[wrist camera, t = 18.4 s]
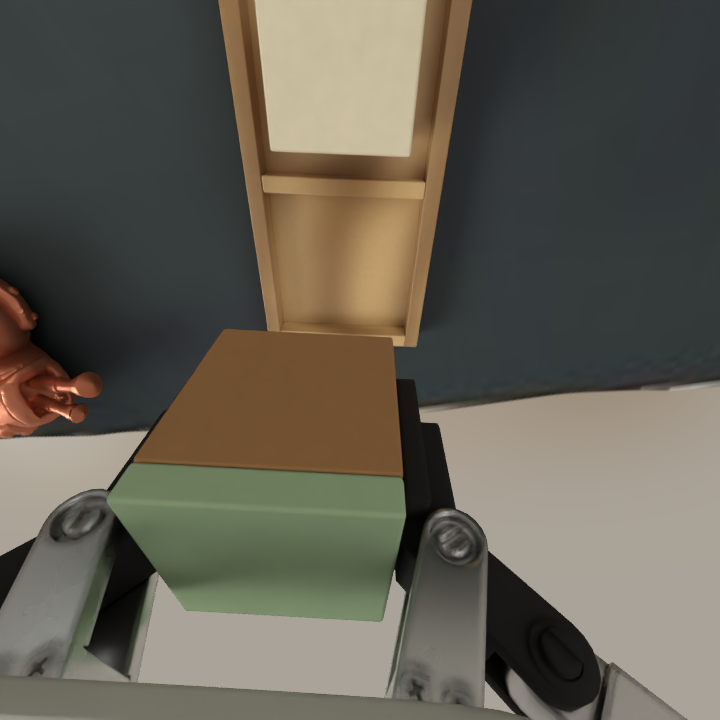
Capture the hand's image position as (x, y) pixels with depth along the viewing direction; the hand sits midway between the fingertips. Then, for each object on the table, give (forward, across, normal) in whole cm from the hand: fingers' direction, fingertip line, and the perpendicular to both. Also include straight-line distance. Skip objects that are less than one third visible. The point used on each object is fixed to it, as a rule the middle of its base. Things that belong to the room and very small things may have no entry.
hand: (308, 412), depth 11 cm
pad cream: (+12, 0, -9) cm, 15 cm away
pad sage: (+1, 0, 0) cm, 1 cm away
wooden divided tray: (+12, 0, -5) cm, 13 cm away
